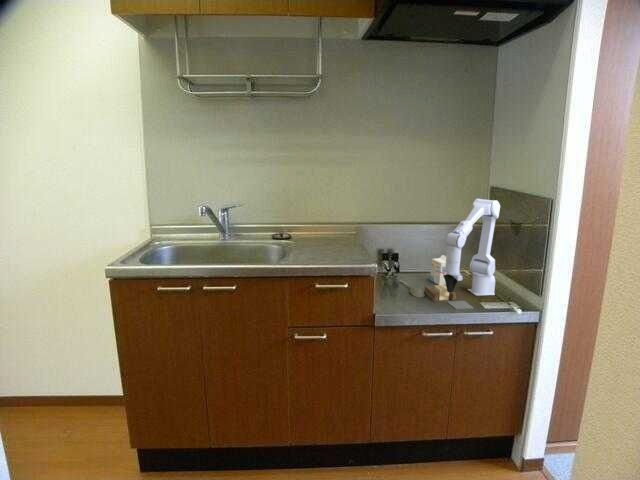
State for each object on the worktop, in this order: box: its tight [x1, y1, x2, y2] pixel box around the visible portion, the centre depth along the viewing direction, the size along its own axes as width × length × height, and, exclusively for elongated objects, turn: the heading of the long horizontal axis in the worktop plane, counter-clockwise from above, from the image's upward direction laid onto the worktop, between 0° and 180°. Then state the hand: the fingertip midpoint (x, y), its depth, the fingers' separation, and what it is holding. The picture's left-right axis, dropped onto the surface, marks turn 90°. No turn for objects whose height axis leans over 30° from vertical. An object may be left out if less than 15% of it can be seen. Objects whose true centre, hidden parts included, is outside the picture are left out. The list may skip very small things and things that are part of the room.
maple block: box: [433, 284, 450, 301], centre depth 177 cm, size 4×6×5 cm
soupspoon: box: [398, 279, 426, 298], centre depth 188 cm, size 22×3×7 cm
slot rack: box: [423, 285, 457, 302], centre depth 179 cm, size 10×11×3 cm
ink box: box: [429, 254, 446, 286], centre depth 198 cm, size 9×8×13 cm
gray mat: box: [446, 300, 474, 310], centre depth 169 cm, size 8×8×1 cm
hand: (450, 291), depth 169 cm, fingers closed
